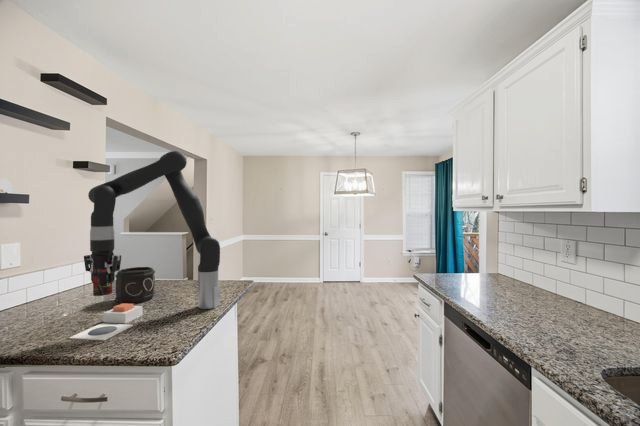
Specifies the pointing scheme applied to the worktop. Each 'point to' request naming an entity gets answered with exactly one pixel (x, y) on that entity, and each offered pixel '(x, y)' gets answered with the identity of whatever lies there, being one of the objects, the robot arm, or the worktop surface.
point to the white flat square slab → (101, 331)
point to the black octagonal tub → (135, 285)
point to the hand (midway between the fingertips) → (102, 282)
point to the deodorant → (100, 276)
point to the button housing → (122, 315)
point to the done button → (123, 307)
